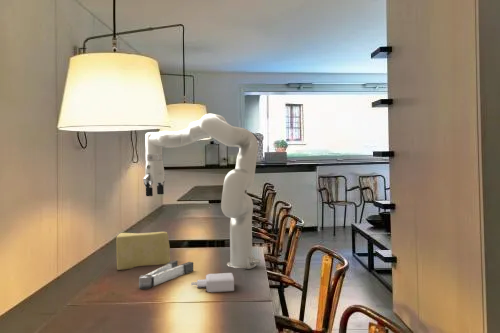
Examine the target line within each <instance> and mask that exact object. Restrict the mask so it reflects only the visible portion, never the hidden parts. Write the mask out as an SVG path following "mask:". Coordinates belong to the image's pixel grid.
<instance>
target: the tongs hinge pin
mask: <svg viewBox="0 0 500 333" xmlns="http://www.w3.org/2000/svg"><path fill="white" fill-rule="evenodd" d="M138 289H139V290H149V289H152V276H151V275H146V274H141V275H140V276H138Z"/></svg>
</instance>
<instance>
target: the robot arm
mask: <svg viewBox="0 0 500 333" xmlns="http://www.w3.org/2000/svg"><path fill="white" fill-rule="evenodd" d="M144 138H145V140H144V141H145V172H144V173H145V174H144V177H143V179H142V180H143V184H144V188H145V197H153V196H154V195H153V194H154V193H153V187H152V186H153V185H154V184H156V185H157V186H156V192H157V195H164V191H165V190H164V186H165V179H166V176H165V168H164V162H163V148H181V147H183V146H187V145H191V144H193V143H195V142H197V141H200V140H204V139H206V138H212V139H214V140H215V141H217V142H219V143H221V144H223V145H225V146H226V147H230V148H238V152H237V156H236V161H235V162H236V163H235V168H234V169H232V170H230V171H228V172H227V174H226V175H225V177H224V180H223V186H222V193H221V200H220V201H221V202H220V208H221V211H222V213H223V215H224V216H225V217H227V218H230V221H229V250H230V251H229V254H230V255H229V258H230V261H229V262H227V263H226V266H228V267H231V268H235V269H237V268H240V269H241V268H242V269H243V268H244V269H245V268H246V270H250V269H254V268H256V266H257V265H261V263H262V260H261V258H256V257H255V255H254V254H253V211H254V202H253V199H252V198H251V196H250V195H249V194H247V193H246V192H245V191H247V190H250V189H251V188H252V187H253V185H254V181H255V176H256V175H255V174H256V167H257V158H258V150H259V146H258V140H257V138H256V136H255V135H254V133H252V132H251V131H250V130H249V129H246V128H244V127H239V126H234V125H231V124H230V123H228V122H227V120H226V118H225V117H224V116H223V115H220V114H215V113H206V114H204V115H203V116H202V117H200V119H199V120H198V119H197V120H195V121H191V122H190V123H189V124H188V127H186V128H184V129H181V130H177V131H171V130H170V131H169V130H161V131H149V132H146V133H145V136H144Z"/></svg>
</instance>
